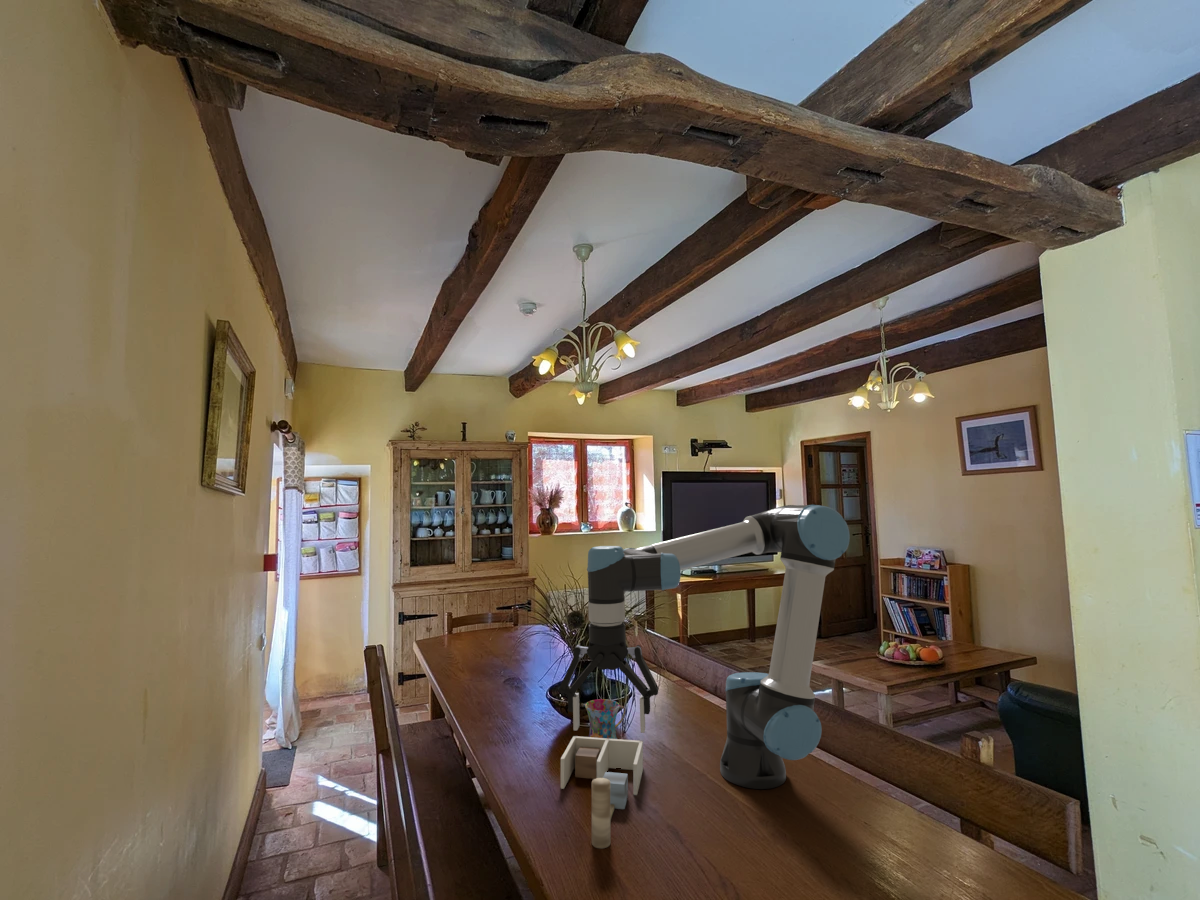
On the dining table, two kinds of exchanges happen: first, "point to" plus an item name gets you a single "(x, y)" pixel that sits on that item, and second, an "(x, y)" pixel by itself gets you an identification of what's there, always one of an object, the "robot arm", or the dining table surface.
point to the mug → (603, 718)
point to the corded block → (607, 805)
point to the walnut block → (586, 762)
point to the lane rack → (606, 757)
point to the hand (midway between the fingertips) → (609, 729)
